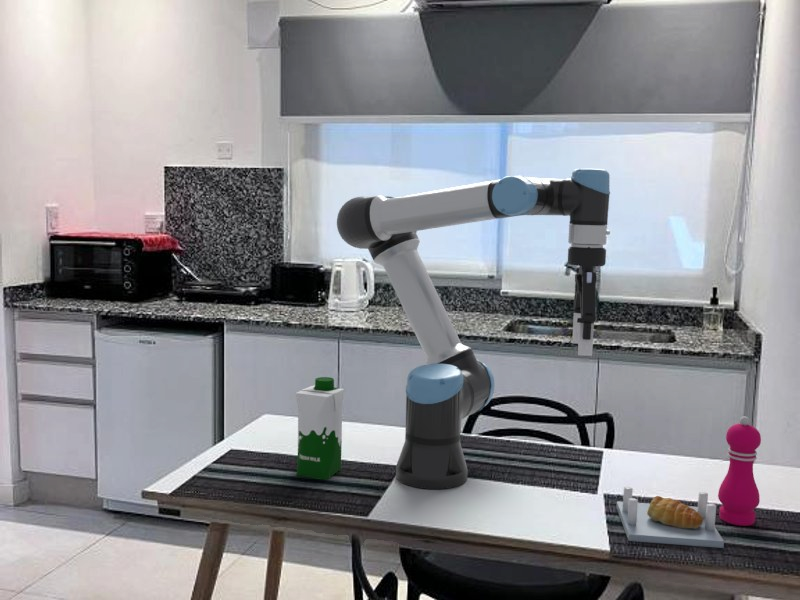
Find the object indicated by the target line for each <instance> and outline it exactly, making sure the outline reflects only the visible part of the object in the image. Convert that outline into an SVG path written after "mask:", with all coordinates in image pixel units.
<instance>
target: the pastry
mask: <svg viewBox="0 0 800 600" xmlns="http://www.w3.org/2000/svg"><path fill="white" fill-rule="evenodd" d="M649 504H650V505H649V508H648V512H647V515H648V516H649V517H650V518H651V519H652V520H653V521H660V522H662V523H663V524H666V525H672V526H674V527H679V528H683V529H685V528H694V529H696V528H699V527H700V526H701V525H702V522H703V520H704V518H703V517H702V516H701V515H700V514H699V513H698V512H696V511H695V510H694V509H692V508H690V507H689V504H688V505H687V504H684V503H682V502H681V501H680V500H677V499H675V500H674V499H673V498H670V497H667V498H664V497H662V496H660V495H656V496H653V498H652V500H651V501H650V503H649Z"/></svg>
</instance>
